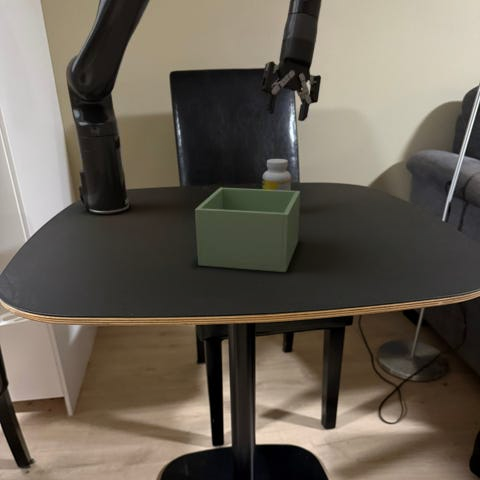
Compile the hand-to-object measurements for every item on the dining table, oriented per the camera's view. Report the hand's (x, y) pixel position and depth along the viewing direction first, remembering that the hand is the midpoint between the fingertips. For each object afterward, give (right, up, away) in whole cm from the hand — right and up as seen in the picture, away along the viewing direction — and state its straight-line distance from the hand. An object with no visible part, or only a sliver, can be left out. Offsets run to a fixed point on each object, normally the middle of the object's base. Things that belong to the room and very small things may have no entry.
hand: (285, 117), depth 113 cm
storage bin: (-9, -36, -24) cm, 44 cm away
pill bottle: (-2, -23, 0) cm, 23 cm away
